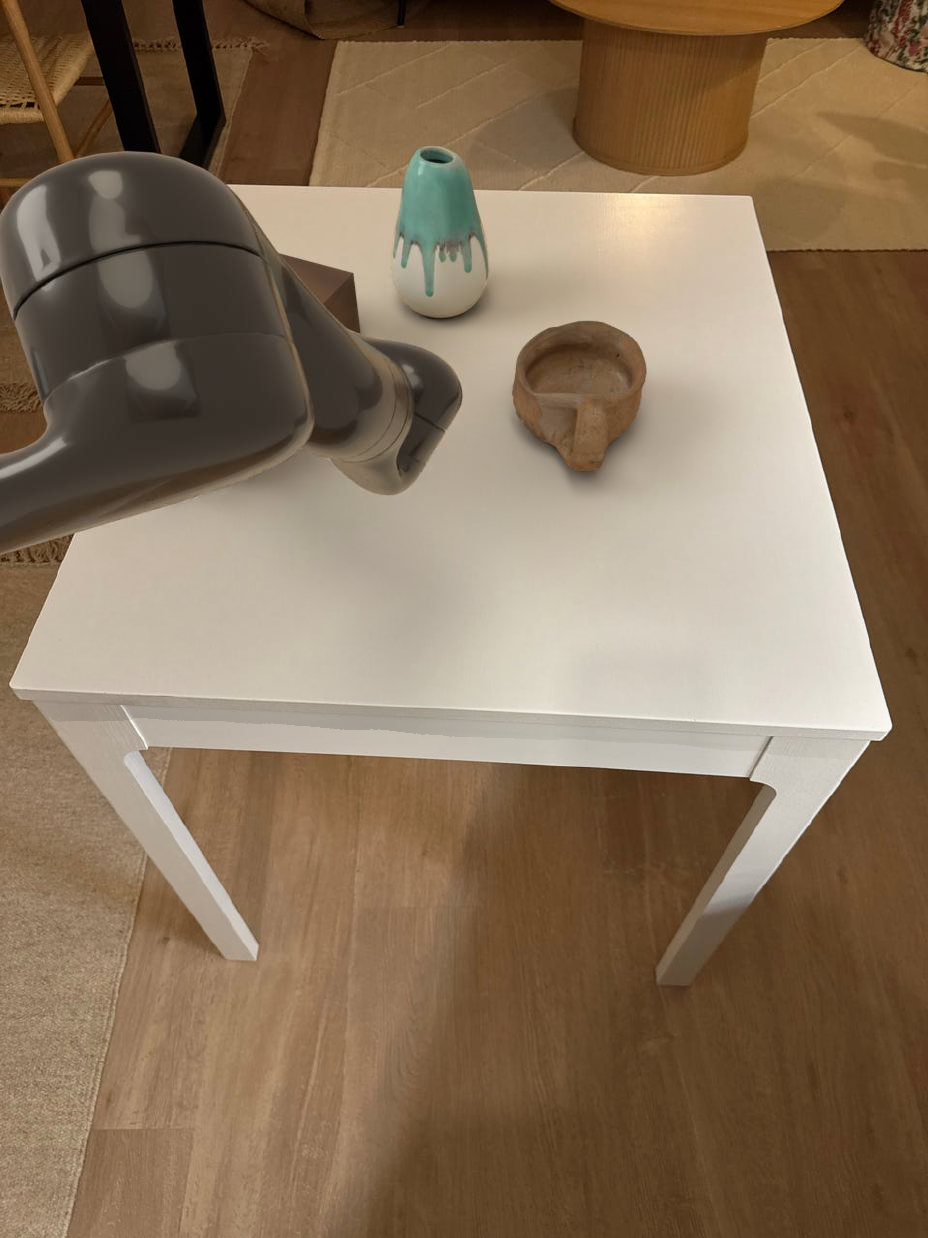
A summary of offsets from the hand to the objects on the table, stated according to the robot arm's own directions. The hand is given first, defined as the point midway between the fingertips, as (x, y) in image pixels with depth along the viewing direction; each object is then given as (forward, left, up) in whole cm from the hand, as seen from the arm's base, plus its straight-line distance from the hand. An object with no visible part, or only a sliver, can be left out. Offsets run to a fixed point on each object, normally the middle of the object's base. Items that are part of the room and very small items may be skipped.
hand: (141, 244), depth 78 cm
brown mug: (+38, -14, -22) cm, 46 cm away
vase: (+32, +14, -22) cm, 41 cm away
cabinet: (+11, +9, -21) cm, 26 cm away
